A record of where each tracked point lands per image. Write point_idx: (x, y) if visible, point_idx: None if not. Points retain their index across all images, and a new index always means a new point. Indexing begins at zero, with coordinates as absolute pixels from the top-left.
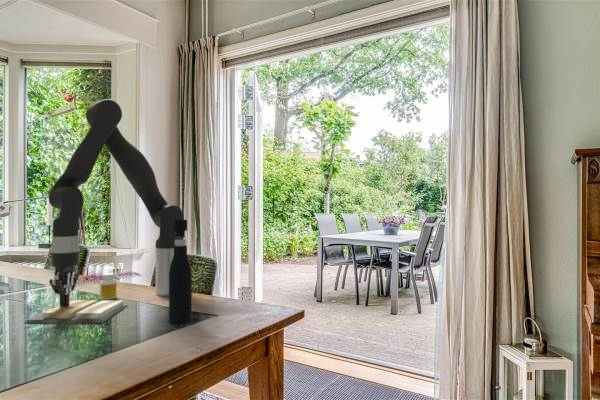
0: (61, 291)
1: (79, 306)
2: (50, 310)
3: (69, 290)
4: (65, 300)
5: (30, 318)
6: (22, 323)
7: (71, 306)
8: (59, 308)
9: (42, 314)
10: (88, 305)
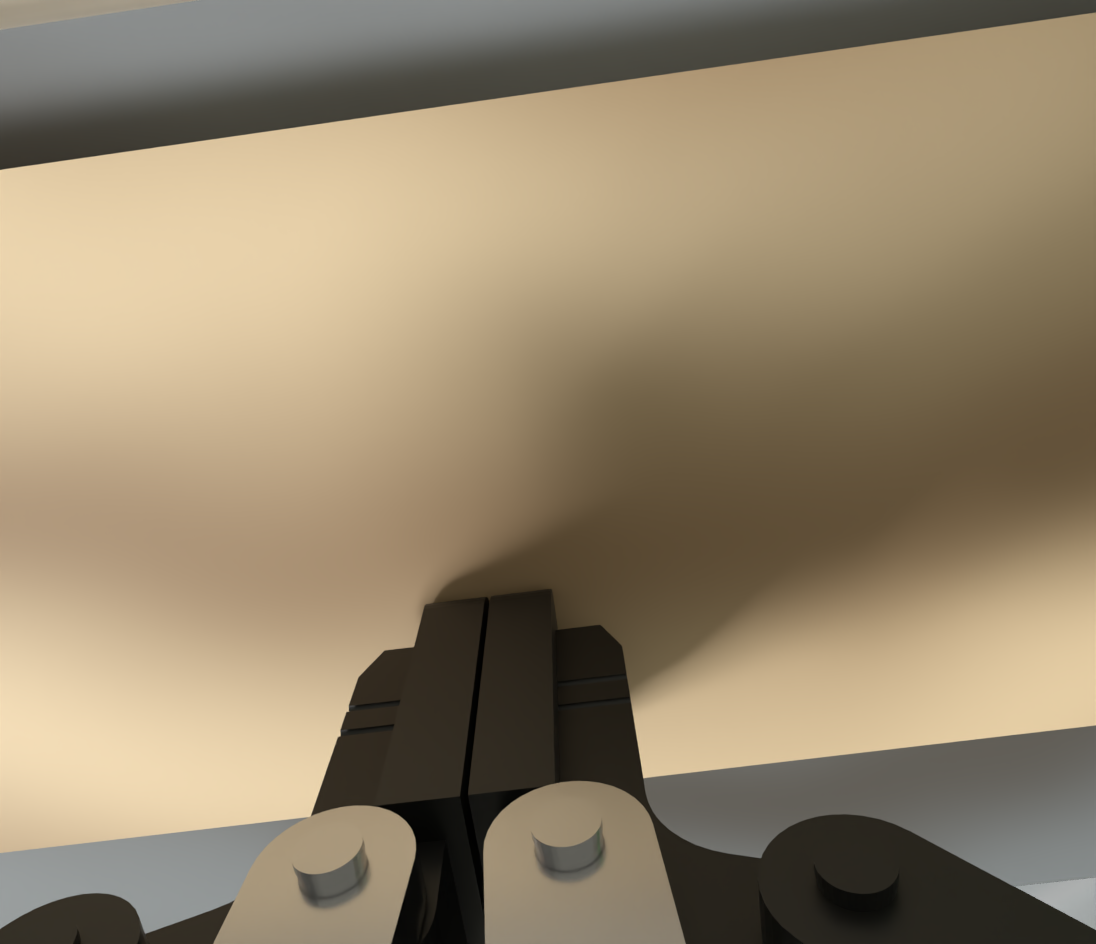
0: (1057, 926)
1: (455, 261)
2: (958, 698)
3: (380, 906)
4: (569, 702)
5: (1043, 864)
6: (1041, 889)
7: (499, 482)
8: (746, 632)
9: (757, 854)
10: (170, 149)
